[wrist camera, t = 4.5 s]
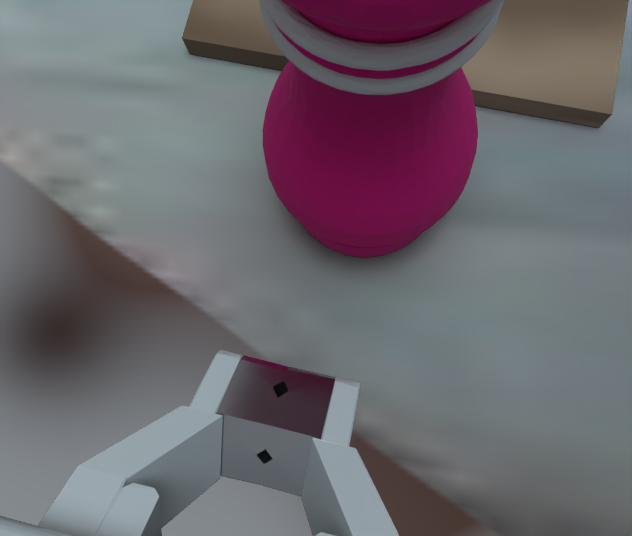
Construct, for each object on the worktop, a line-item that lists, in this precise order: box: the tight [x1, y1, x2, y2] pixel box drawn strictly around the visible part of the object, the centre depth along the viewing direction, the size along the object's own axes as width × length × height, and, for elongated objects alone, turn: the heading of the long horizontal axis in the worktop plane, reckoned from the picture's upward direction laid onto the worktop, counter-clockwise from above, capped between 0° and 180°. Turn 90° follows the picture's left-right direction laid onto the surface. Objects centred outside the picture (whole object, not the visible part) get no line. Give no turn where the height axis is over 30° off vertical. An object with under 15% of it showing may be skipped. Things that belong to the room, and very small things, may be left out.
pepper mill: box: [259, 0, 505, 257], centre depth 14 cm, size 7×7×20 cm
